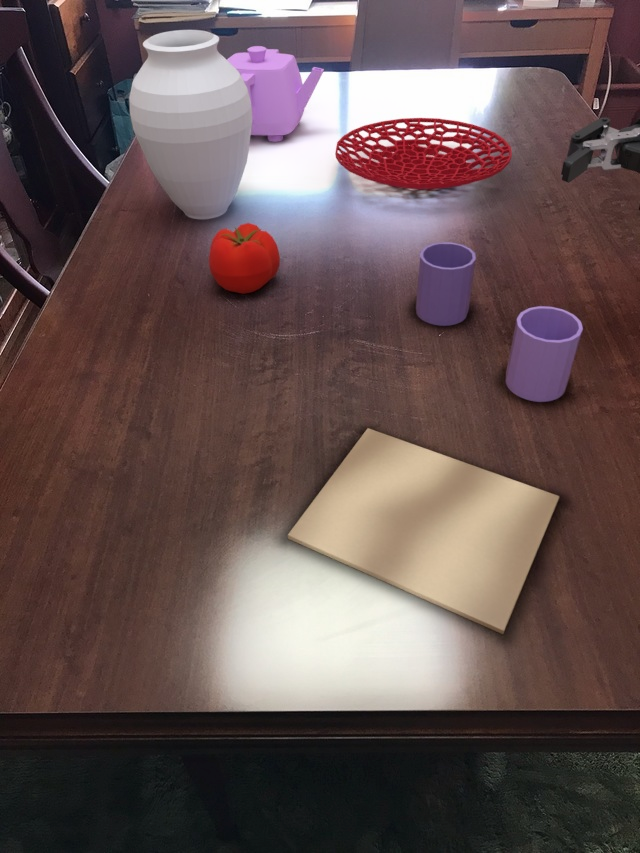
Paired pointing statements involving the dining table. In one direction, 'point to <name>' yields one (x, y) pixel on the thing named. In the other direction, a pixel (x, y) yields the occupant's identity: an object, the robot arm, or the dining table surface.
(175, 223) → the dining table surface
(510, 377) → the lavender cup
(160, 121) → the vase
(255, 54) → the teapot
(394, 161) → the bowl
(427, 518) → the mat
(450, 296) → the lilac cup
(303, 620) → the dining table surface
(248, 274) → the tomato
